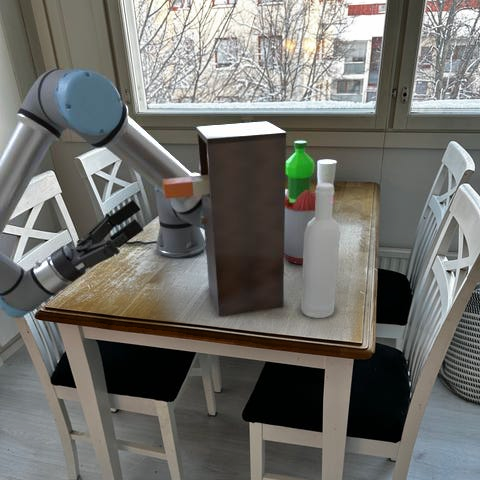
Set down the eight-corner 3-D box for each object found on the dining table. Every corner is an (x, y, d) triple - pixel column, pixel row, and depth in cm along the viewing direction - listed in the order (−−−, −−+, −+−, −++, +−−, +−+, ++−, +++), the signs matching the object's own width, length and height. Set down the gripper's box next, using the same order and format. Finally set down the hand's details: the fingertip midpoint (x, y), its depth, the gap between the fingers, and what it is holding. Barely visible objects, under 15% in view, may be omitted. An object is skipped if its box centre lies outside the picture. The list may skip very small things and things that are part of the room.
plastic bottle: (281, 217, 168) (282, 144, 155) (288, 207, 176) (289, 138, 163) (308, 219, 165) (311, 145, 152) (314, 209, 173) (317, 139, 160)
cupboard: (267, 281, 125) (267, 121, 104) (283, 307, 113) (286, 132, 92) (205, 290, 122) (191, 127, 101) (214, 317, 110) (201, 139, 89)
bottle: (316, 322, 107) (324, 193, 91) (294, 308, 112) (297, 184, 96) (341, 311, 111) (353, 185, 95) (318, 298, 116) (325, 177, 100)
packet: (165, 198, 98) (163, 184, 96) (163, 192, 102) (161, 178, 100) (265, 188, 102) (265, 174, 100) (260, 183, 106) (260, 169, 104)
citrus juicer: (311, 241, 148) (314, 177, 137) (340, 262, 134) (346, 193, 123) (266, 250, 143) (266, 185, 133) (292, 272, 129) (294, 201, 119)
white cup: (337, 184, 201) (339, 160, 195) (330, 188, 195) (332, 164, 190) (320, 182, 204) (322, 158, 199) (313, 186, 199) (314, 162, 193)
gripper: (41, 281, 91) (128, 219, 88) (55, 236, 111) (125, 184, 109) (68, 307, 95) (152, 248, 92) (76, 259, 116) (145, 210, 113)
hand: (138, 213), depth 101 cm, fingers open, 13 cm apart
